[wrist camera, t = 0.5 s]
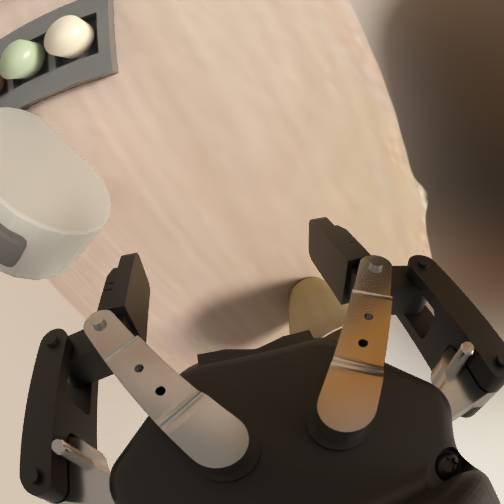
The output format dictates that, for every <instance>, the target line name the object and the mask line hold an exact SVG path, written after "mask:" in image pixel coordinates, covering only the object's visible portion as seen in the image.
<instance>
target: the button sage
mask: <svg viewBox="0 0 504 504" xmlns="http://www.w3.org/2000/svg"><path fill="white" fill-rule="evenodd" d="M45 59H46V50H45V48H44V46H43V45H42V44H40V43H36V42H31V41H27V40H22V39H19V40H16V41H14V42H12V43H11V44H9V45H8V46H7V48H6V49H5V50H4V52H3V53H2V55H1V58H0V74H1V76H2V77H3V78H5V79H27V78H31V77H33V76H35V75H36V74H37V73H38V72H39V71H40V70H41V68H42V66H43V65H44V62H45Z"/></svg>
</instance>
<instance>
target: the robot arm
mask: <svg viewBox="0 0 504 504" xmlns="http://www.w3.org/2000/svg"><path fill="white" fill-rule="evenodd" d="M309 254H310V257H311V260H312V261H313V263H314V264H315V266H316V267H317V269H318V270H319V272H320V273H321V275H322V276H323V278H324V279H325V281H326V282H327V284H328V285H329V287H330V288H331V290H332V292H333V293H334V295H335V296H336V298H337V299H338V301H339V302H340V304H341V305H344V304H347V303H349V305H348V309H347V313H346V316H345V320H344V323H343V327H342V330H341V334H340V337H339V340H334V339H330V338H324V337H313V336H312V334H311V332H310V330H306V331H302V332H299V333H295V334H291V335H287V336H283V337H281V338H279V339H277V340H275V341H273V342H271V343H268V344H266V345H264V346H262V347H260V348H258V349H235V350H232V349H225V350H220V351H215V352H210V353H204V354H199V355H197V356H198V363H197V364H195V365H193V366H191V367H189V368H188V369H186V370H185V371H183V372H182V373H181V374H180V375H179V374H178V373H177V372H176V371H175V370H174V369H173V368H172V367H170V366H169V365H168V364H167V363H166V362H165V361H164V360H163V359H162V358H161V357H160V356H159V355H158V354H157V353H156V352H154V351H153V350H152V349H151V348H150V347H149V346H148V345H147V344H146V337H147V321H148V309H149V297H150V287H149V282H148V279H147V276H146V274H145V271H144V268H143V265H142V263H141V260H140V257H139V255H138V253H133V254H128V255H123V256H121V259H120V262H119V266H118V268H114V269H113V270H112V271H111V272H110V273H109V275H108V276H107V279H106V282H105V285H104V289H103V292H102V296H101V299H100V303H99V307H98V310H97V312H95V313H93V314H92V315H90V316H89V317H88V318H87V320H86V321H85V323H84V329H83V330H81V331H79V332H77V333H74V334H72V335H70V336H68V335H67V333H66V332H65V331H64V330H63V329H54V330H52V331H50V332H49V333H47V334H46V335H45V336H44V337H43V339H42V341H41V343H40V346H39V350H38V354H37V358H36V362H35V366H34V370H33V374H32V379H31V384H30V388H29V393H28V399H27V404H26V410H25V417H24V425H23V433H22V443H21V455H20V480H21V483H22V485H23V487H24V488H25V489H26V491H27V492H29V493H30V494H32V495H34V496H37V497H39V498H41V499H44V500H46V501H48V502H49V503H52V504H500V501H499V499H498V497H497V495H496V493H495V491H494V489H493V486H492V484H491V482H490V480H489V478H488V477H487V476H486V475H485V474H484V473H483V472H481V471H480V470H478V469H477V468H475V467H474V466H472V465H471V464H470V463H469V462H467V461H466V460H465V459H464V458H463V457H462V456H461V455H460V453H459V452H458V450H457V448H456V445H455V441H454V436H453V428H452V421H454V420H455V419H457V418H458V417H460V416H461V417H465V418H467V417H471V416H473V415H474V414H475V413H476V412H477V411H478V410H479V409H480V408H481V407H483V406H484V405H485V404H486V403H487V402H488V401H489V400H490V398H492V397H493V396H494V395H495V393H497V391H498V390H499V389H500V388H501V387H502V386H503V385H504V342H503V341H502V339H501V338H500V337H499V335H498V334H497V333H496V331H495V330H494V329H493V328H492V326H491V325H490V324H489V322H488V321H487V320H486V319H485V317H484V316H483V315H482V314H481V313H480V311H479V310H478V309H477V308H476V307H475V305H474V304H473V303H472V302H471V301H470V300H469V298H468V297H467V296H466V295H465V294H464V293H463V292H462V290H461V289H460V288H459V287H458V286H457V285H456V284H455V283H454V282H453V281H452V279H451V278H450V277H449V276H448V275H447V274H446V273H445V272H444V271H443V270H442V269H441V268H440V267H439V266H438V265H437V264H436V263H435V262H434V261H433V260H432V259H430V258H429V257H426V256H422V255H415V256H412V257H411V258H410V259H409V261H408V265H407V266H392V264H391V263H390V262H389V261H388V260H387V259H385V258H383V257H381V256H376V255H370V254H369V253H368V252H367V251H366V249H365V248H364V247H363V246H362V245H361V244H360V243H359V242H358V241H357V240H356V239H355V238H354V237H352V235H351V234H350V233H349V232H348V231H347V230H346V229H344V228H342V227H340V226H338V225H337V226H334V225H333V224H332V223H331V222H330V221H329V219H328V218H326V217H323V218H317V219H312V220H310V222H309ZM426 301H428V302H429V304H430V305H431V306H432V308H433V309H434V314H435V316H433V315H432V313H431V312H430V311H429V309H428V308H427V307H426V305H425V304H426ZM391 315H397V317H398V318H399V320H400V321H401V323H402V324H403V326H404V327H405V329H406V330H407V332H408V333H409V335H410V337H411V338H412V340H413V341H414V343H415V344H416V346H417V347H418V349H419V351H420V352H421V354H422V355H423V357H424V359H425V360H426V362H427V364H428V365H429V367H430V369H431V370H432V373H431V382H432V384H431V383H429V382H427V381H424V380H422V379H420V378H418V377H415V376H413V375H411V374H408V373H406V372H404V371H402V370H400V369H398V368H396V367H393V366H391V365H389V364H387V363H385V356H386V349H387V343H388V335H389V327H390V318H391ZM112 374H114V375H115V376H116V377H117V378H118V380H119V381H120V382H121V383H122V385H123V386H124V387H125V388H126V390H127V391H128V392H129V393H130V394H131V396H132V397H133V398H134V399H135V400H136V402H137V403H138V404H139V405H140V406H141V407H142V408H143V410H144V411H145V412H146V413H147V414H148V415H149V416H148V417H147V419H146V420H145V421H144V423H143V424H142V426H141V427H140V429H139V430H138V431H137V433H136V434H135V435H134V437H133V438H132V440H131V441H130V442H129V444H128V445H127V447H126V448H125V449H124V451H123V452H122V454H121V455H120V456H119V458H118V460H116V462H115V464H114V466H113V467H112V470H111V472H110V471H109V468H108V464H107V460H106V458H105V457H104V455H103V454H102V453H101V452H100V451H98V450H97V396H98V380H100V379H102V378H105V377H107V376H110V375H112Z"/></svg>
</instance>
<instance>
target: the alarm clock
mask: <svg viewBox="0 0 504 504" xmlns="http://www.w3.org/2000/svg"><path fill="white" fill-rule="evenodd" d="M110 211H111V201H110V194H109V191H108V189H107V186H106V183H105V181H104V179H103V177H102V176H101V174H100V173H99V172H98V171H97V170H96V169H95V168H94V167H93V166H92V165H91V164H90V163H89V162H87V161H86V160H85V159H84V158H83V157H82V156H81V155H80V154H79V153H78V152H77V151H76V150H75V149H74V148H73V147H72V146H71V145H70V144H69V143H68V142H67V141H66V140H65V139H64V138H63V137H62V136H61V135H60V134H59V133H58V132H57V131H56V130H55V129H53V128H52V127H51V126H50V125H49V124H48V122H47V121H46V120H45V119H43V118H41V117H39V116H37V115H36V114H33V113H30V112H27V111H25V110H22V109H16V108H10V107H2V108H0V271H1V272H4V273H6V274H8V275H11V276H13V277H17V278H24V279H32V280H40V279H46V278H52V277H56V276H58V275H60V274H61V273H63V272H65V271H67V270H69V268H70V267H71V266H72V265H73V263H74V262H75V261H76V260H77V258H78V257H79V256H80V254H81V253H82V252H83V251H84V249H85V248H86V247H87V245H88V244H89V243H90V242H91V240H92V239H93V238H94V237H95V236H96V234H97V233H98V232H99V231H100V230H101V228H102V227H103V226H104V225H105V224H106V222H107V221H108V219H109V215H110Z"/></svg>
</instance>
